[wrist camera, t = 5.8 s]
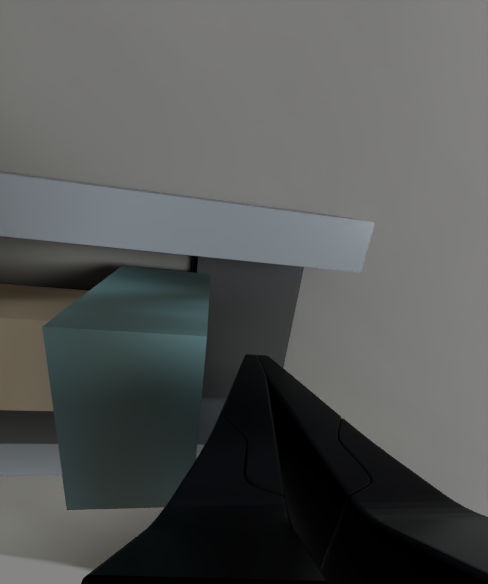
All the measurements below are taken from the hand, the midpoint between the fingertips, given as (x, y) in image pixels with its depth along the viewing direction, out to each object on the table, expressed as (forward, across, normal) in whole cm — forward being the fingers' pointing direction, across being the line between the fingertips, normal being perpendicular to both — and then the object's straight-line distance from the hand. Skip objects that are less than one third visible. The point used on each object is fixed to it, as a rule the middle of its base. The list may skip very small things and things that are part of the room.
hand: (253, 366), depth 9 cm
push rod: (+2, +8, 0) cm, 8 cm away
